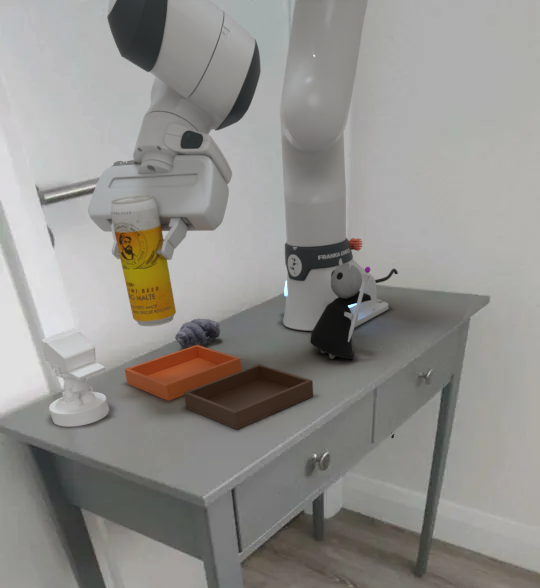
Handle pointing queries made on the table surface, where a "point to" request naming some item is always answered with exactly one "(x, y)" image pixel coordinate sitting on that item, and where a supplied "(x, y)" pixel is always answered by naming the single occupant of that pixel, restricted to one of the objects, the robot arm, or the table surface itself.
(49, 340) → the character figurine
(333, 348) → the toy
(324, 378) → the table surface
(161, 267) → the beer can
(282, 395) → the walnut tray
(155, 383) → the can tray
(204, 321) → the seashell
